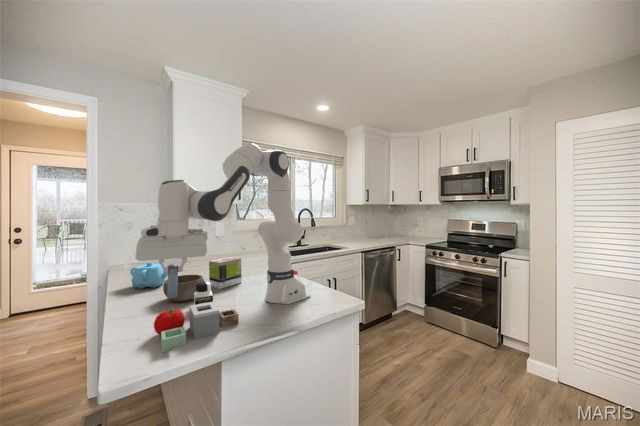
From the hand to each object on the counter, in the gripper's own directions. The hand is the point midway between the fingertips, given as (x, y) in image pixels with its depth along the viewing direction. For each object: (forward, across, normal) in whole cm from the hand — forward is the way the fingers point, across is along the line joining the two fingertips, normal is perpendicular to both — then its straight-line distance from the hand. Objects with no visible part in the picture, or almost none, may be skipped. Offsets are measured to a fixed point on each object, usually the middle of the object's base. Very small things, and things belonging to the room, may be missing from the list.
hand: (172, 272), depth 87 cm
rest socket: (+24, 0, 0) cm, 24 cm away
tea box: (+23, -32, -60) cm, 72 cm away
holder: (+24, -19, -6) cm, 31 cm away
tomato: (+24, 0, -10) cm, 26 cm away
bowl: (+24, -10, -47) cm, 53 cm away
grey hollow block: (+24, -10, -4) cm, 26 cm away
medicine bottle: (+24, -14, -27) cm, 39 cm away
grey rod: (+8, 0, 0) cm, 8 cm away
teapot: (+24, +2, -79) cm, 82 cm away
